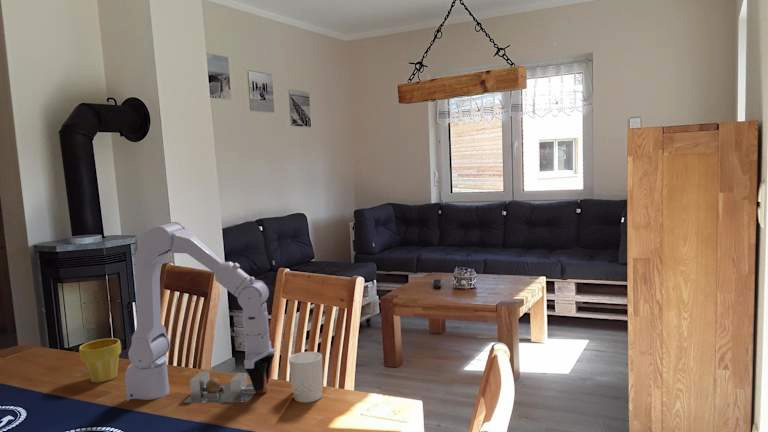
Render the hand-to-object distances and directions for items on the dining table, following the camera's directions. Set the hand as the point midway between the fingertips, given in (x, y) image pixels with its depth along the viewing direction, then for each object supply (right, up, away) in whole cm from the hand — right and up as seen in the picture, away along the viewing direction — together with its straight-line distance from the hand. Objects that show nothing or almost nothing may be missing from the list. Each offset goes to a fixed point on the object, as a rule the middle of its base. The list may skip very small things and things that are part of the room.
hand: (261, 387), depth 146 cm
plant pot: (-47, -3, +20) cm, 52 cm away
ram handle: (-3, -1, 0) cm, 3 cm away
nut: (-12, -2, +2) cm, 12 cm away
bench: (-9, -3, +1) cm, 10 cm away
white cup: (+12, -2, -1) cm, 12 cm away
